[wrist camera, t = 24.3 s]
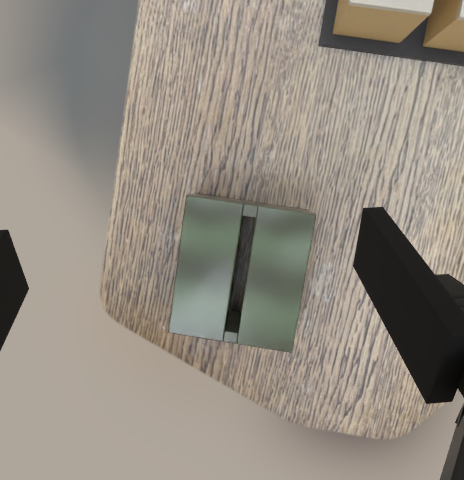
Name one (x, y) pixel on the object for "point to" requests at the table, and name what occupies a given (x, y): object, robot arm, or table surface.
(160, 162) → the table surface
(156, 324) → the table surface
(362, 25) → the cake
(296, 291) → the knife block
